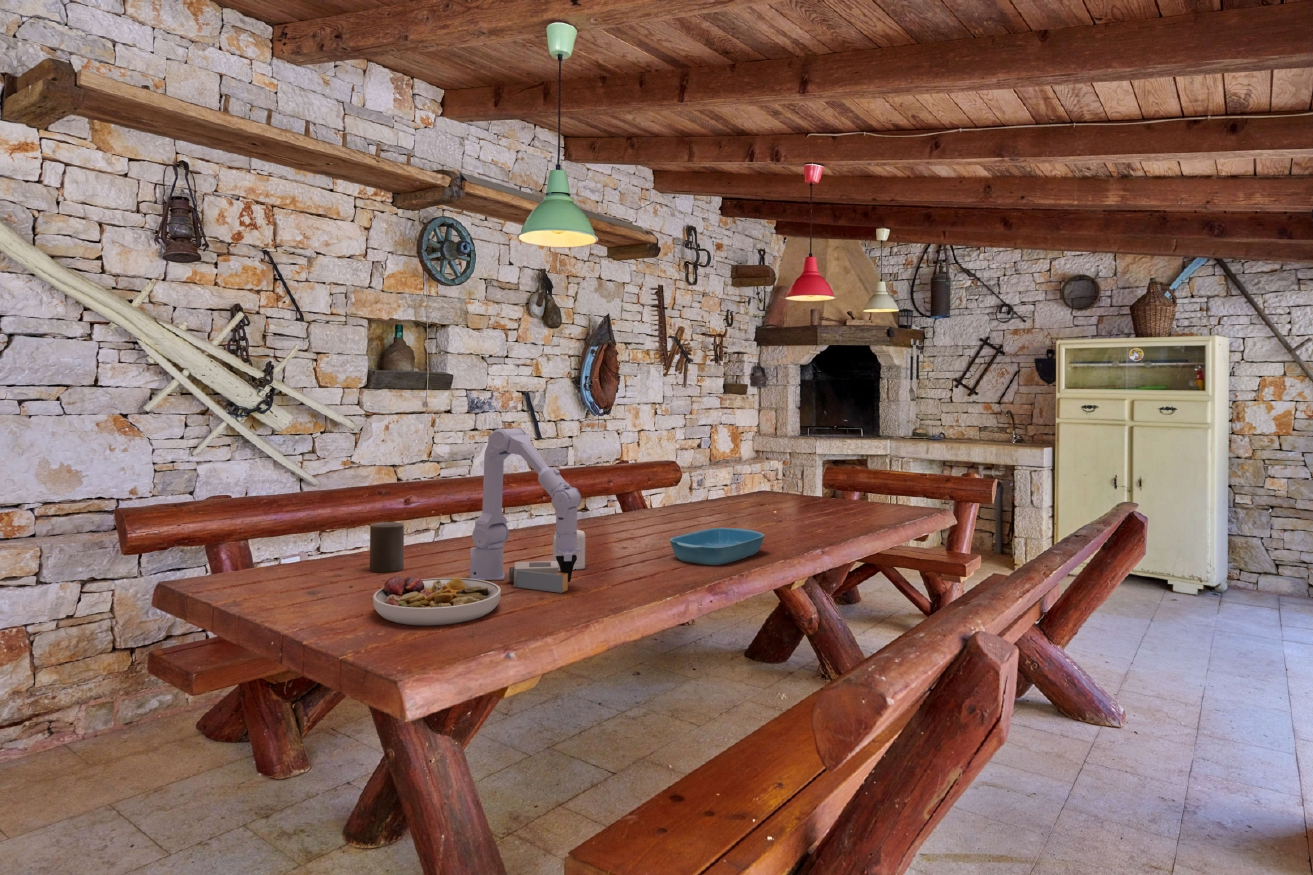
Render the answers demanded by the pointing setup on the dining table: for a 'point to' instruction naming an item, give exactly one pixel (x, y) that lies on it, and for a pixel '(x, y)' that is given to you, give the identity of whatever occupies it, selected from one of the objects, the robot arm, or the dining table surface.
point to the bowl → (435, 600)
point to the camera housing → (534, 567)
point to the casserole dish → (717, 545)
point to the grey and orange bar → (541, 581)
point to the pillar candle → (386, 547)
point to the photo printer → (580, 555)
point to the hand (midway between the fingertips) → (566, 581)
